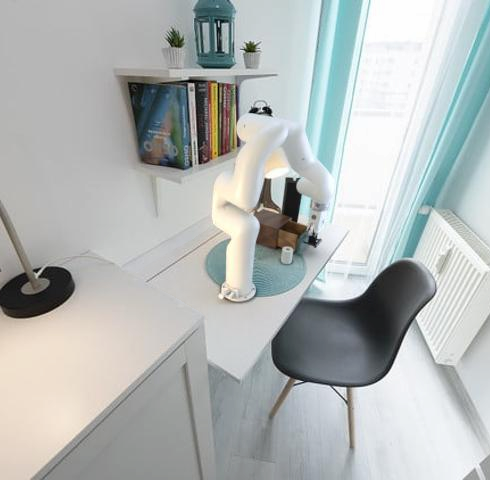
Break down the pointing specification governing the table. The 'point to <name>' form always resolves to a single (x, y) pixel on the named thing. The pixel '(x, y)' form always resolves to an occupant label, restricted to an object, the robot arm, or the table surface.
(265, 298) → the table surface
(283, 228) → the drawer
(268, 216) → the cabinet
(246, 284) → the robot arm
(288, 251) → the paper towel roll
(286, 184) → the black square column
